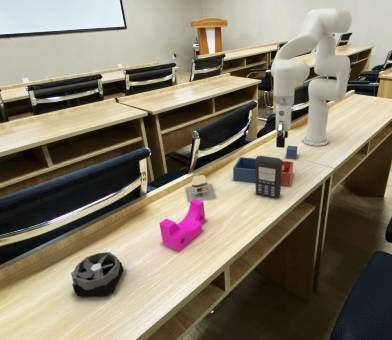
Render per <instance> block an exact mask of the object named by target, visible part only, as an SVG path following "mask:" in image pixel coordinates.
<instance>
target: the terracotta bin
mask: <svg viewBox="0 0 392 340" xmlns="http://www.w3.org/2000/svg"><path fill="white" fill-rule="evenodd" d="M282 165H285V172H282V174H281V187H291V182H292V180H293V179H292V178H293V174H294V161H290V160H289V161H288V160H282Z"/></svg>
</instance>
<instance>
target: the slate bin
mask: <svg viewBox="0 0 392 340" xmlns="http://www.w3.org/2000/svg"><path fill="white" fill-rule="evenodd" d="M255 159H256V157H242V156H239V158H238V160H237V161H236V162H235V164H234V166H233V168H232V173H233V174H232V175H233V176H232V177H233V178H232V179H233V181H235V182H242V183H243V182H244V183H254V184H255Z"/></svg>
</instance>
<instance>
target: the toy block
mask: <svg viewBox="0 0 392 340" xmlns="http://www.w3.org/2000/svg"><path fill="white" fill-rule="evenodd" d="M205 222H206V213H205V203H204V201H203V200H197V199H193V200H192V201H190V202H189V207H188V210H187V213H186V215H185V216H184V217H183V219H182V220H181V221H179V222H178V223H176V221H174V220H171V219H169V218H164V219H163V220H161V221H160V222H159V223H158V224H159V230H160V233H161V234H160V235H161V240H162V244H163V245H164V246H167V247H169V248H171V249H173V250H175V251H177V252H180V251H181V250H182V249H183V248H185V246H187V245H188V244H189V243H191V241H193V240H194V239H196V238H197V236H199V235H200V234H201V233H202V232H203V228H202V227H203V226H202V225H203V224H204V223H205Z"/></svg>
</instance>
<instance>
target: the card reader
mask: <svg viewBox="0 0 392 340" xmlns="http://www.w3.org/2000/svg"><path fill="white" fill-rule="evenodd" d="M255 158H256V159H255V183H254V185H255V194H257V195H258V196H263V197H269V198H273V199H279V198H280V196H281V192H282V191H281V189H282V186H281V174H282V161H283V159H281V158H280V157H272V156H267V155H257V156H256V157H255Z"/></svg>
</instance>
